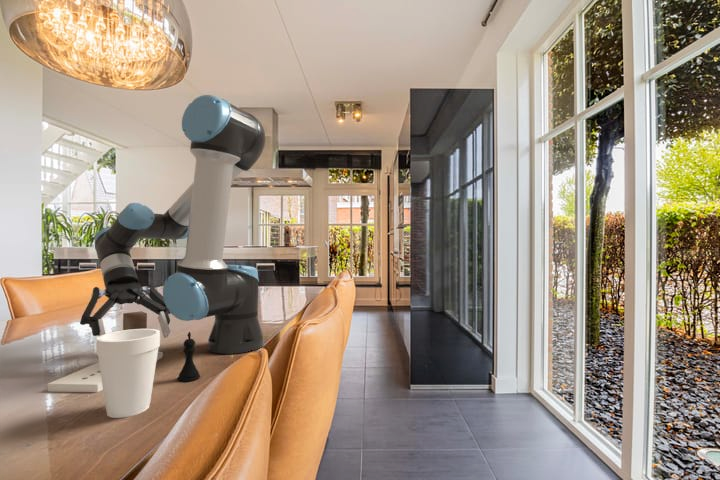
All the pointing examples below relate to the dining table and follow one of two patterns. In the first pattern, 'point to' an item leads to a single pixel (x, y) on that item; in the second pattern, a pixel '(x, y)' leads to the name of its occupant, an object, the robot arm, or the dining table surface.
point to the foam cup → (127, 369)
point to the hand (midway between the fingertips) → (137, 340)
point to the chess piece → (189, 362)
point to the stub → (134, 320)
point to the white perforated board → (82, 380)
